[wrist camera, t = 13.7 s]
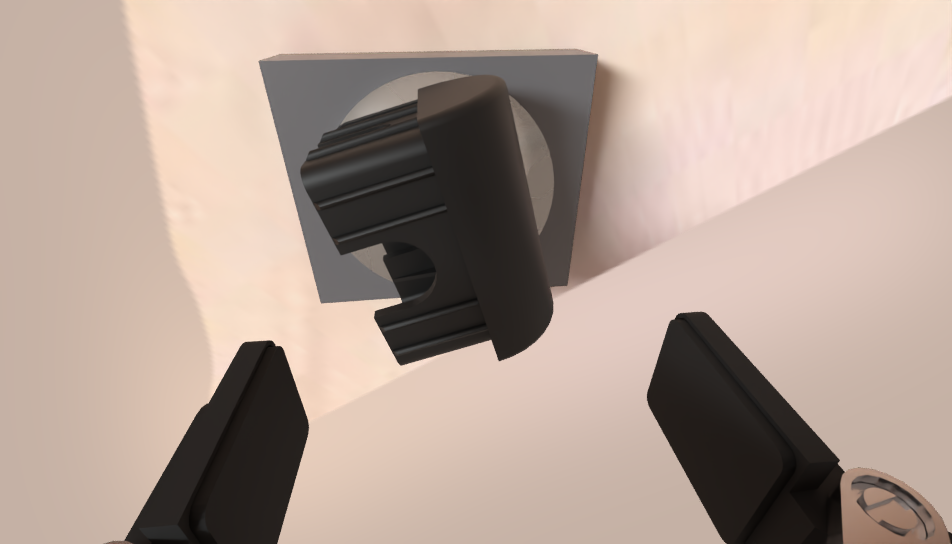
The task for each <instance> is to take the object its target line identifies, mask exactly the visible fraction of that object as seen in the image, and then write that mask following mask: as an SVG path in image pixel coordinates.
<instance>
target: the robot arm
mask: <svg viewBox="0 0 952 544" xmlns="http://www.w3.org/2000/svg"><path fill="white" fill-rule="evenodd" d="M647 401H648V405H649V407H650V409H651V411H652V413H653V415H654V416H655V418H656V420H657V422H658V424H659V426H660V427H661V429H662V431H663V433H664V435H665V436H666V438H667V440H668V442H669V444H670V446H671V447H672V449H673V451H674V453H675V455H676V457H677V458H678V460H679V462H680V464H681V465H682V467H683V469H684V471H685V473H686V475H687V477H688V478H689V480H690V482H691V484H692V485H693V487H694V489H695V491H696V493H697V495H698V496H699V498H700V500H701V502H702V504H703V506H704V508H705V509H706V511H707V513H708V515H709V517H710V518H711V520H712V522H713V524H714V526H715V527H716V529H717V531H718V533H719V535H720V536H721V538H722V540H724V542H725V543H727V544H952V533H950V532H948V531H947V528H946V526H945V524H944V521H943V519H942V517H941V516H940V515H939V514H938V512H937V511H936V510H935V508H934V507H933V506H932V505H931V504H930V503H929V502H928V501H927V500H926V499H925V498H924V497H923V496H922V495H921V494H919V493H918V492H917V491H916V490H914V489H913V488H911V487H910V486H908V485H907V484H905V483H904V482H902V481H900V480H898V479H896V478H894V477H892V476H890V475H888V474H886V473H883V472H880V471H877V470H874V469H869V468H860V467H858V468H853V469H849V470H847V471H846V472H844V471H843V469H842V468H841V467H840V466H839V465H838V462H839V461H840V460H839V459H838V458H837V457H836V455H835V454H834V453H833V452H832V451H831V450H830V449H829V448H828V447H827V445H826V444H825V443H824V442H823V441H822V440H821V439H820V438H819V437H818V436H817V434H816V433H815V432H814V431H813V430H812V429H811V428H810V427H809V426H808V425H807V423H806V422H805V421H804V420H803V419H802V418H801V417H800V416H799V415H798V414H797V412H796V411H795V410H794V409H793V408H792V407H791V406H790V405H789V403H787V401H786V400H785V399H784V398H783V397H782V396H781V395H780V394H779V392H778V391H777V390H776V389H775V388H774V387H773V386H772V385H771V384H770V382H768V380H767V379H766V378H765V377H764V376H763V375H762V374H761V373H760V371H759V370H758V369H757V368H756V367H755V366H754V365H753V364H752V363H751V362H750V360H749V359H748V358H747V357H746V356H745V355H744V354H743V353H742V352H741V351H740V349H739V348H738V347H737V346H736V345H735V344H734V343H733V342H732V341H731V339H730V338H729V337H728V336H727V335H726V334H725V333H724V332H723V331H722V329H721V328H720V327H719V326H718V325H717V324H716V323H715V322H714V321H713V320H712V318H711V317H710V316H709V315H708V314H706V313H704V312H691V313H680V314H678V315H677V316H676V318H675V319H674V320H671V321H670V323H669V326H668V329H667V332H666V335H665V338H664V341H663V345H662V348H661V351H660V354H659V357H658V360H657V364H656V367H655V370H654V373H653V377H652V379H651V383H650V386H649V389H648V392H647ZM308 431H309V424H308V419H307V416H306V413H305V410H304V407H303V404H302V402H301V399H300V396H299V393H298V390H297V387H296V384H295V381H294V379H293V376H292V373H291V370H290V367H289V364H288V361H287V358H286V356H285V353H284V350H283V348H282V347H281V346H275V344H274V342H273V341H270V340H269V341H254V342H245V343H243V344H242V345H241V347H240V348H239V350H238V352H237V354H236V355H235V357H234V359H233V361H232V362H231V364H230V366H229V368H228V370H227V371H226V373H225V375H224V377H223V379H222V380H221V382H220V384H219V386H218V388H217V389H216V391H215V393H214V395H213V396H212V398H211V400H210V402H209V403H208V404H206V405H205V406H203V407H202V408H201V409H200V411H199V412H198V413H197V415H196V416H195V418H194V420H193V422H192V423H191V425H190V427H189V429H188V430H187V432H186V434H185V436H184V438H183V439H182V441H181V443H180V444H179V446H178V448H177V450H176V451H175V453H174V455H173V457H172V458H171V460H170V462H169V464H168V465H167V467H166V469H165V471H164V472H163V474H162V476H161V478H160V479H159V481H158V483H157V485H156V486H155V488H154V490H153V491H152V493H151V495H150V497H149V499H148V500H147V502H146V504H145V505H144V507H143V509H142V511H141V512H140V514H139V516H138V518H137V519H136V521H135V523H134V525H133V526H132V528H131V530H130V532H129V533H128V535H127V537H126V539H125V540H124V541H112V542H108V543H105V544H277V542H278V539H279V535H280V532H281V528H282V525H283V521H284V517H285V514H286V511H287V507H288V503H289V500H290V497H291V493H292V489H293V486H294V483H295V479H296V476H297V472H298V469H299V465H300V462H301V458H302V455H303V451H304V448H305V444H306V440H307V437H308Z"/></svg>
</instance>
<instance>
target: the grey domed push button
mask: <svg viewBox="0 0 952 544" xmlns="http://www.w3.org/2000/svg"><path fill="white" fill-rule="evenodd" d="M597 58H598V54H595V53H591V52H586V51H582V50H578V49H545V50H489V51H434V52H379V53H324V54H279V55H276V56H273V57H270V58H266V59H263V60H260V61H259V65H260V69H261V72H262V76H263V80H264V84H265V88H266V92H267V96H268V100H269V103H270V107H271V111H272V115H273V119H274V123H275V127H276V131H277V134H278V138H279V142H280V146H281V150H282V154H283V158H284V162H285V166H286V169H287V173H288V177H289V181H290V185H291V189H292V193H293V197H294V200H295V204H296V208H297V212H298V216H299V220H300V224H301V228H302V231H303V235H304V239H305V243H306V247H307V251H308V255H309V259H310V262H311V266H312V270H313V274H314V278H315V282H316V286H317V290H318V293H319V297H320V301H321V303H333V302H347V301H360V300H374V299H388V298H401V297H400V295H399V293H398V291H397V289H396V287H395V285H394V283H393V281H392V278H391V276H390V274H389V272H388V270H387V268H386V266H385V264H384V261H383V255H386V254H387V253H386V251H385V249H384V247H383V245H382V243H381V244H378V245H374V246H371V247H368V248H364V249H361V250H358V251H354V252H351V253H348V254H345V255H340V254H339V252H338V250H337V248H336V246H335V244H334V242H333V240H332V239H331V237H330V235H329V233H328V231H327V229H326V227H325V226H324V224H323V222H322V220H321V218H320V216H319V214H318V212H317V211H316V209H315V207H314V205H313V203H312V201H311V199H310V198H309V196H308V194H307V192H306V190H305V188H304V185H303V182H302V179H301V174H300V169H301V166H302V165H303V163H304V162H305V161H306V158H307V156H308V153H309V151H311V150H314V149H317V148H318V146H317V145H318V144H319V142H320V141H321V138H322V135H323V133H326V132H329V131H332V130H336V129H337V128H338V127H339V126H340V125H341V124H343V123H344V122H347V121H350V120H354V119H357V118H360V117H363V116H366V115H369V114H372V113H376V112H379V111H382V110H385V109H388V108H391V107H394V106H398V105H401V104H404V103H407V102H410V101H413V100H416V99H418V89H419V88H423V87H426V86H429V85H433V84H437V83H440V82H444V81H448V80H453V79H457V78H462V77H468V76H475V75H495V76H498V77H501V78H502V79H503V80H504V81H505V83H506V85H507V89H508V93H509V98H510V103H511V107H512V112H513V117H514V121H515V126H516V131H517V135H518V140H519V145H520V149H521V154H522V159H523V163H524V168H525V173H526V177H527V182H528V187H529V191H530V196H531V201H532V206H533V210H534V215H535V220H536V224H537V229H538V234H539V238H540V243H541V248H542V252H543V257H544V262H545V266H546V271H547V276H548V280H549V285H550V287H554V286H567V284H568V276H569V269H570V261H571V254H572V246H573V239H574V231H575V224H576V216H577V209H578V201H579V194H580V186H581V179H582V171H583V164H584V156H585V149H586V141H587V133H588V126H589V118H590V111H591V103H592V96H593V88H594V81H595V73H596V66H597Z"/></svg>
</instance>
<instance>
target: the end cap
mask: <svg viewBox="0 0 952 544" xmlns="http://www.w3.org/2000/svg"><path fill="white" fill-rule="evenodd" d="M317 146H318V148H317V149H314V150H311V151H309V153H308V156H307V158H306V161H305V162H304V163H303V165H302V166H301V169H300V174H301V179H302V182H303V185H304V188H305V190H306V192H307V194H308V196H309V198H310V199H311V201H312V203H313V205H314V207H315V209H316V211H317V212H318V214H319V216H320V218H321V220H322V222H323V224H324V226H325V227H326V229H327V231H328V233H329V235H330V237H331V239H332V240H333V242H334V244H335V246H336V248H337V250H338V252H339V254H340V255H345V254H348V253H351V252H354V251H358V250H361V249H364V248H368V247H371V246H374V245H378V244H381V243H382V245H383V247H384V249H385V251H386V253H387V254H386V255H383V261H384V264H385V266H386V268H387V270H388V272H389V274H390V276H391V278H392V281H393V283H394V285H395V287H396V289H397V291H398V293H399V295H400V297H401V300H402V303H401V304H397V305H394V306H391V307H387V308H384V309H380V310H377V311H375V316H374V319H375V321H376V323H377V324H378V326H379V328H380V330H381V332H382V334H383V336H384V337H385V339H386V341H387V343H388V345H389V347H390V349H391V351H392V352H393V354H394V356H395V358H396V360H397V362H398V363H399V364H400V365H405V364H408V363H412V362H415V361H419V360H422V359H426V358H429V357H433V356H436V355H440V354H443V353H447V352H450V351H454V350H457V349H461V348H464V347H467V346H471V345H475V344H478V343H482V342H485V341H489V340H492V343H493V345H494V348H495V351H496V354H497V357H498V360H499V361H501V360H504V359H507V358H510V357H512V356H514V355H516V354H518V353H520V352H522V351H524V350H525V349H527V348H528V347H529V346H531V345H532V344H533V343H535V342H536V341H537V340H538V338H539V337H540V336H541V335H542V334H543V333H544V332H545V330H546V328H547V327H548V325H549V323H550V321H551V318H552V314H553V299H552V294H551V290H550V285H549V280H548V276H547V271H546V266H545V262H544V257H543V252H542V248H541V243H540V238H539V234H538V229H537V224H536V220H535V215H534V210H533V206H532V201H531V196H530V191H529V187H528V182H527V177H526V173H525V168H524V163H523V159H522V154H521V149H520V145H519V140H518V135H517V131H516V126H515V121H514V117H513V112H512V107H511V103H510V98H509V93H508V89H507V85H506V83H505V81H504V80H503V79H502V78H501V77H498V76H495V75H475V76H468V77H462V78H457V79H453V80H448V81H444V82H440V83H437V84H433V85H429V86H426V87H423V88H419V89H418V99H416V100H413V101H410V102H407V103H404V104H401V105H398V106H394V107H391V108H388V109H385V110H382V111H379V112H376V113H372V114H369V115H366V116H363V117H360V118H357V119H354V120H350V121H347V122H344V123H343V124H341V125H340V126H339V127H338V128H337V129H336V130H332V131H329V132H326V133H323V135H322V138H321V141H320V142H319V144H318V145H317Z"/></svg>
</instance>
